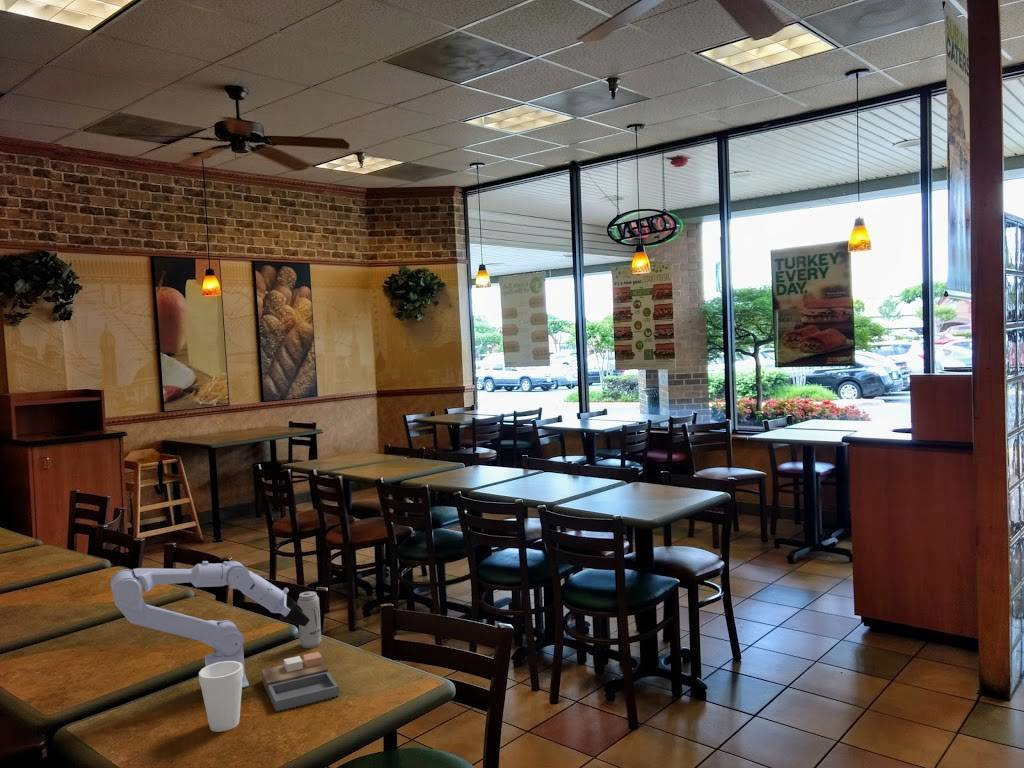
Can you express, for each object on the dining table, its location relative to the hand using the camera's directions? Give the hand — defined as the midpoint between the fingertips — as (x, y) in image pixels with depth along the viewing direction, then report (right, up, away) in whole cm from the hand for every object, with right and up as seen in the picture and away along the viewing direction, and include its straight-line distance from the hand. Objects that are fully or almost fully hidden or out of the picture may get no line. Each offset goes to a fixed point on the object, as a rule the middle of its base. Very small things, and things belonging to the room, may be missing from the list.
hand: (303, 618), depth 207 cm
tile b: (+4, -10, -5) cm, 12 cm away
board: (0, -14, -9) cm, 16 cm away
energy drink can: (-2, -13, +16) cm, 20 cm away
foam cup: (-10, -15, -31) cm, 36 cm away
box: (+5, -14, -18) cm, 23 cm away
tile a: (-1, -11, -8) cm, 13 cm away
